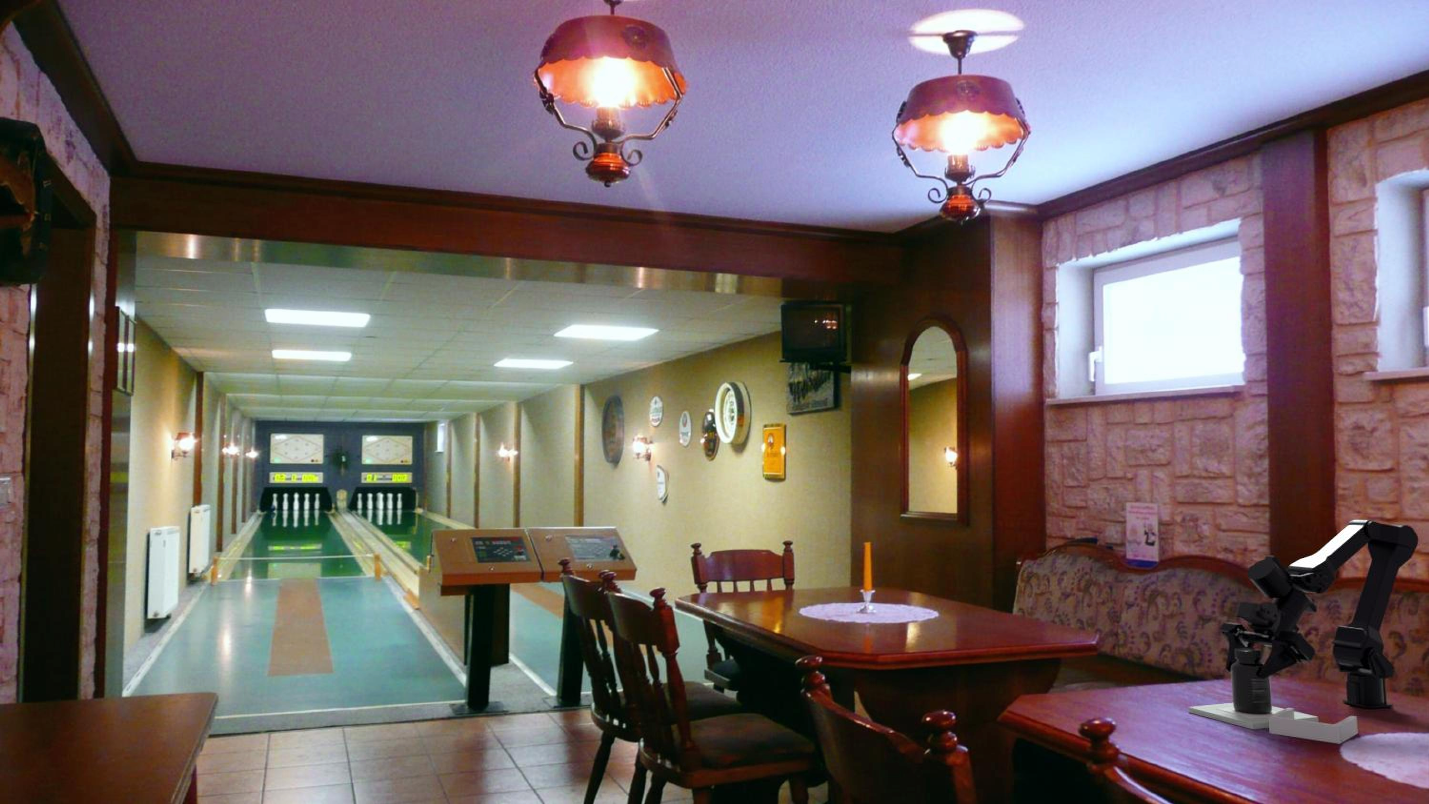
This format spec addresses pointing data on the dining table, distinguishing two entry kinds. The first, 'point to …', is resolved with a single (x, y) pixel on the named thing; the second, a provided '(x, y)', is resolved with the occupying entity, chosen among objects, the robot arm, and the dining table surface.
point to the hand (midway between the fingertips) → (1243, 673)
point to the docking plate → (1243, 715)
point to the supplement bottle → (1250, 683)
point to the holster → (1312, 727)
